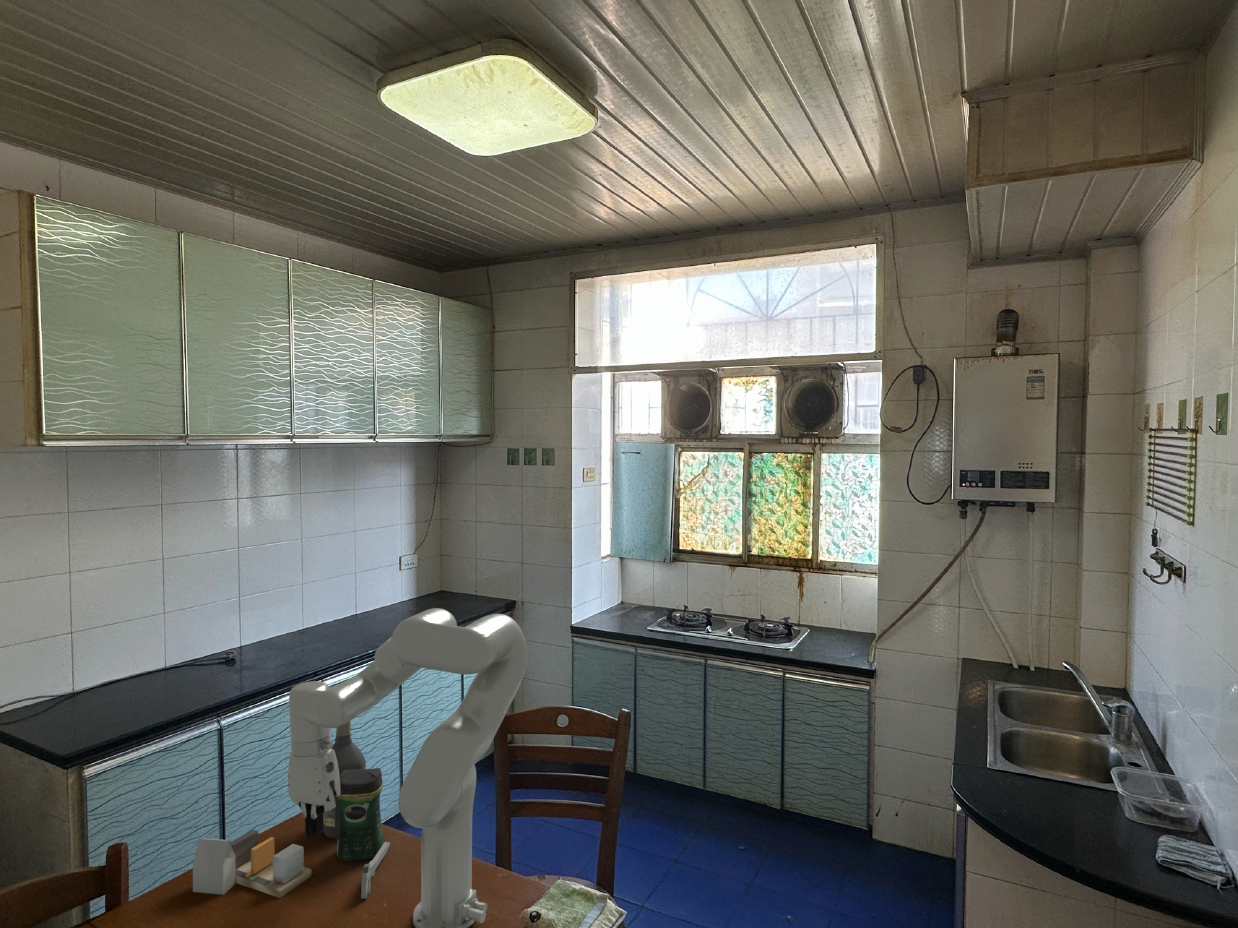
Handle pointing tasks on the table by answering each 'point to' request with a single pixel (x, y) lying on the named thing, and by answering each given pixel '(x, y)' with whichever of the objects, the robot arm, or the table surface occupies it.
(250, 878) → the board
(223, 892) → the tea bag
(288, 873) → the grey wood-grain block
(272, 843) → the orange rectangular slab
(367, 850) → the coffee jar
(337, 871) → the table surface
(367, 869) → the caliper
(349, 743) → the liquor
